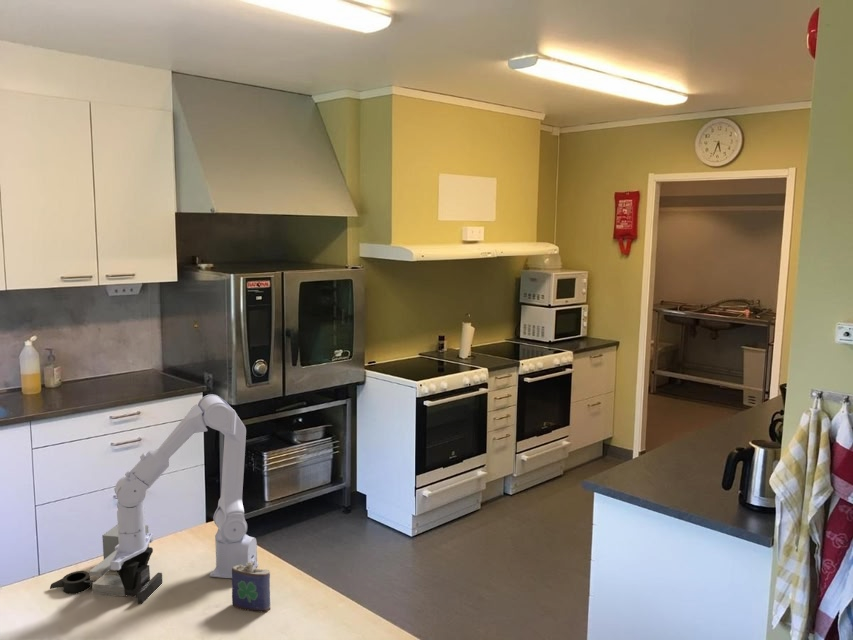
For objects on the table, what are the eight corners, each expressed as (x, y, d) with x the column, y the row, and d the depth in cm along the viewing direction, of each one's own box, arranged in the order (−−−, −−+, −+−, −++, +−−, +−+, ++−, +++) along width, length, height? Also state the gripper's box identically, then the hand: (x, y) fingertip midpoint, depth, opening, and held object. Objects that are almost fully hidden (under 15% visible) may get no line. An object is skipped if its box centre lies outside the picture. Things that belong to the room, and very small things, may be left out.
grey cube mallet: (149, 559, 175) (148, 525, 174) (102, 600, 156) (100, 563, 154) (120, 556, 176) (118, 523, 175) (70, 597, 157) (68, 560, 155)
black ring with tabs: (80, 600, 156) (80, 588, 156) (46, 593, 159) (45, 581, 159) (106, 584, 163) (105, 572, 163) (73, 577, 166) (72, 565, 166)
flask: (272, 607, 154) (271, 562, 152) (266, 614, 151) (264, 568, 149) (236, 601, 156) (234, 556, 155) (228, 607, 153) (227, 562, 152)
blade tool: (162, 583, 163) (161, 560, 162) (141, 604, 154) (140, 579, 154) (110, 579, 165) (108, 555, 164) (86, 598, 156) (85, 574, 155)
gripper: (132, 514, 165) (135, 567, 167) (96, 541, 151) (99, 599, 153) (160, 516, 164) (162, 570, 166) (126, 543, 150) (129, 602, 152)
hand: (134, 584), depth 159 cm, fingers closed on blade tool, 3 cm apart
